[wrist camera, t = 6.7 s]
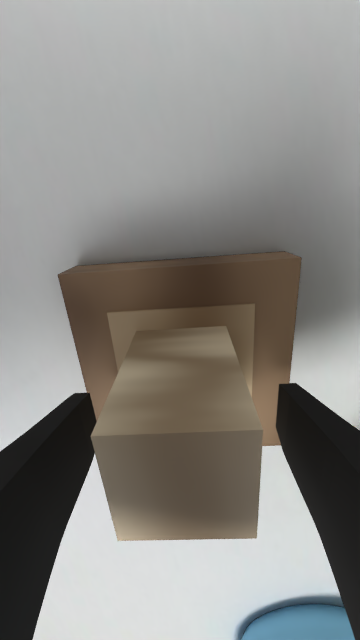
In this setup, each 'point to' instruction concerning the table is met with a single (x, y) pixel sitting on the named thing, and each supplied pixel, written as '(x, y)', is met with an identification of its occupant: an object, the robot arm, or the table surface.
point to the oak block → (180, 440)
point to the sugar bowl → (302, 624)
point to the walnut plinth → (188, 316)
